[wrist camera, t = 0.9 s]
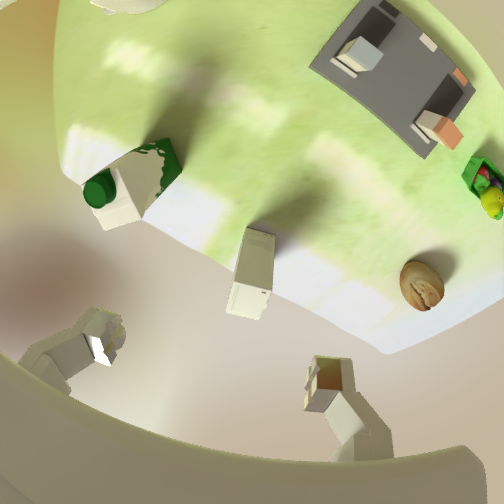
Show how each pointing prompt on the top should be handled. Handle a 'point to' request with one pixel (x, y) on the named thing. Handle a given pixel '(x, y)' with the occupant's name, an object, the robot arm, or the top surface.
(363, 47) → the switch
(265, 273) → the skincare box
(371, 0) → the console
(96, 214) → the milk carton
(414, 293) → the bread roll
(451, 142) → the switch
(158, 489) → the robot arm
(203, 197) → the top surface
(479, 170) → the fruit basket
